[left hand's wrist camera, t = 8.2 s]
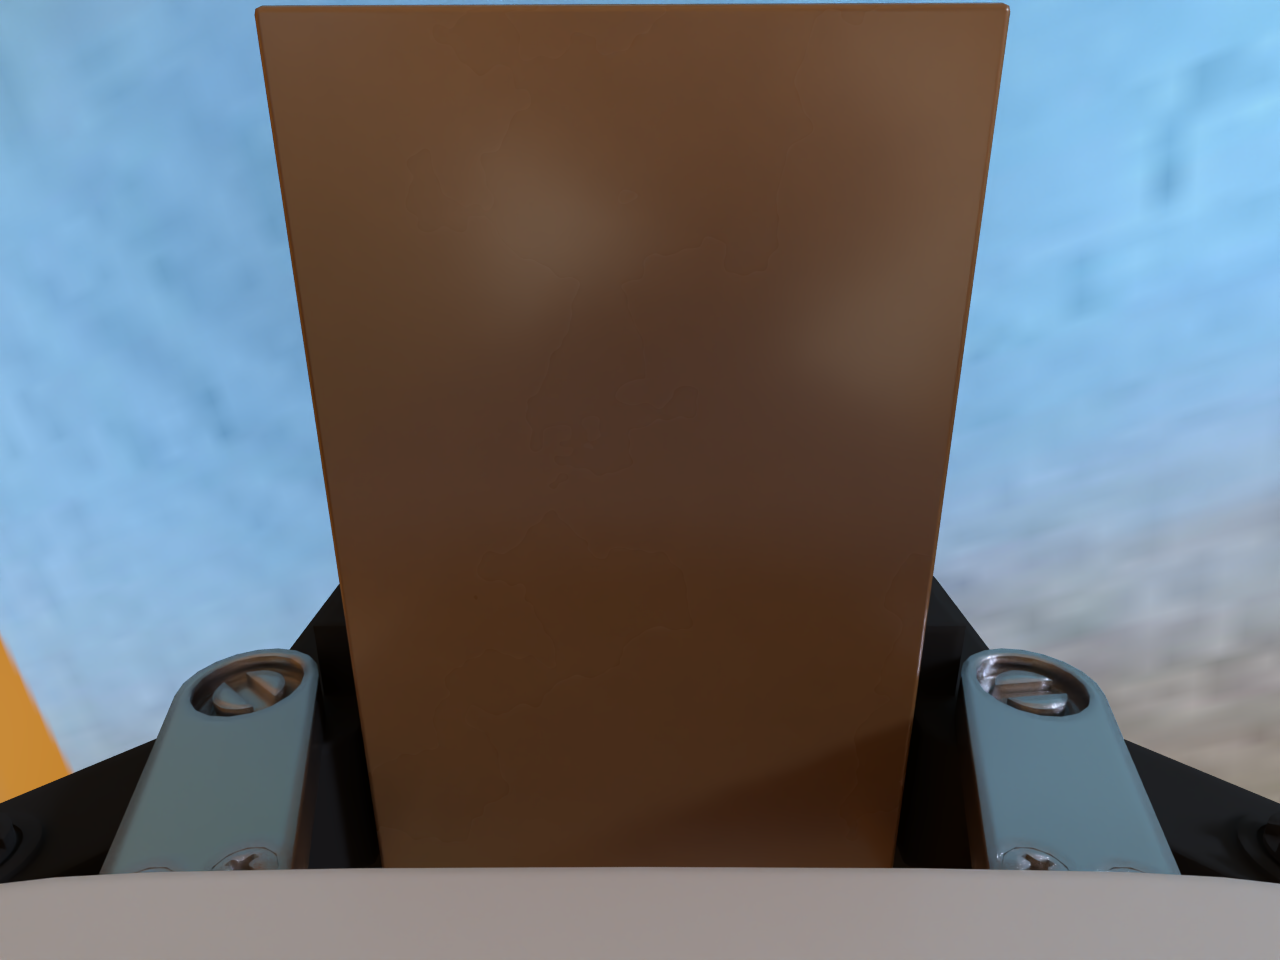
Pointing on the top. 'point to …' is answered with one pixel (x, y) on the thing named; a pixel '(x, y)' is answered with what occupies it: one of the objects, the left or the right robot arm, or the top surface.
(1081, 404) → the top surface
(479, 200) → the bar
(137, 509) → the top surface
